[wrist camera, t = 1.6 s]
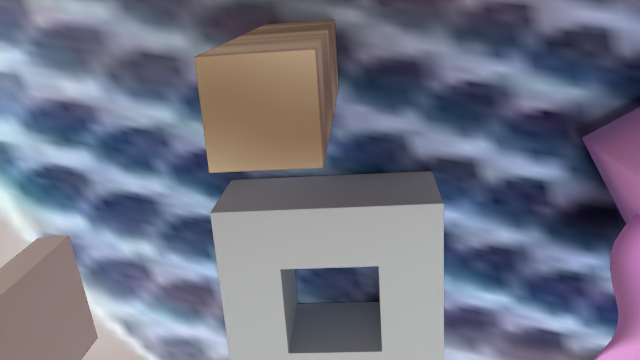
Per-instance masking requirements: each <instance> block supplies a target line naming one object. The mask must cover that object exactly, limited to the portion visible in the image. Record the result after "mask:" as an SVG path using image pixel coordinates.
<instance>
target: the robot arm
mask: <svg viewBox="0 0 640 360" xmlns="http://www.w3.org/2000/svg"><path fill="white" fill-rule="evenodd" d="M97 338H98V337H97V333H96V330H95V326H94V323H93V319H92V316H91V312H90V309H89V305H88V302H87V298H86V295H85V291H84V287H83V284H82V280H81V277H80V273H79V270H78V266H77V263H76V259H75V256H74V252H73V249H72V245H71V242H70V238H69V236H58V237H46V238H37V239H36V240H35V241H34V242H32V243H31V244H30V245H29V246H27V247H26V248H25V249H24V250H23V251H21V252H20V253H19V254H18V255H16V256H15V257H14V258H13V259H11V260H10V261H9V262H8V263H6V264H5V265H4V266H3V267H2V268H0V360H82V358H83V357H84V355H85V354H86V353H87V352H88V350H89V349H90V347H91V346H92V345H93V343H94V342H95V341H96V339H97Z"/></svg>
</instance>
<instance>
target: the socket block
mask: <svg viewBox="0 0 640 360" xmlns="http://www.w3.org/2000/svg"><path fill="white" fill-rule="evenodd" d="M210 215H211V222H212V230H213V237H214V245H215V252H216V260H217V267H218V275H219V282H220V290H221V297H222V304H223V312H224V319H225V327H226V334H227V342H228V349H229V357H230V360H444V203H443V201H442V198H441V195H440V193H439V190H438V188H437V185H436V182H435V180H434V177H433V174H432V172H431V171H421V172H399V173H376V174H354V175H331V176H309V177H286V178H264V179H241V180H231V182H230V183H229V185H228V186H227V188H226V189H225V191H224V192H223V194H222V196H221V197H220V199H219V200H218V202H217V203H216V205H215V206H214V208H213V209H212V211H211V213H210ZM371 266H378V286H379V302H344V303H307V304H298V298H297V287H296V276H295V269H308V268H340V267H371Z"/></svg>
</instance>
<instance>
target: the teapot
mask: <svg viewBox="0 0 640 360" xmlns="http://www.w3.org/2000/svg"><path fill="white" fill-rule="evenodd" d="M582 140H583V142H584V144H585V145H586V147H587V149H588V151H589V153H590V155H591V157H592V159H593V161H594V163H595V165H596V167H597V169H598V171H599V173H600V175H601V177H602V179H603V181H604V182H605V184H606V186H607V188H608V190H609V192H610V194H611V196H612V198H613V200H614V202H615V204H616V206H617V208H618V210H619V212H620V214H621V216H622V218H623V220H624V222H625V224H626V225H625V226H624V228H623V229H622V231H621V232H620V234H619V235H618V237H617V238H616V240H615V242H614V245H613V248H612V251H611V257H610V272H611V278H612V284H613V288H614V293H615V297H616V302H617V306H618V316H619V318H618V324H617V330H616V332H615V334H614V336H613V338H612V340H611V341H610V342H609V343H608V345H607V346H606V347H605V348H604V349H603V350H602V351H601V352H600V353H599V354H598V355H597V356H596V357H595V358H594V359H593V360H640V107H638V108H636V109H634V110H632V111H630V112H629V113H627V114H625V115H623V116H621V117H619V118H617V119H615V120H614V121H612V122H610V123H608V124H606V125H604V126H602V127H601V128H599V129H597V130H595V131H593V132H591V133H589V134H588V135H586V136H584V137H582Z"/></svg>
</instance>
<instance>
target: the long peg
mask: <svg viewBox="0 0 640 360" xmlns="http://www.w3.org/2000/svg"><path fill="white" fill-rule="evenodd" d="M194 59H195V67H196V75H197V82H198V90H199V98H200V105H201V113H202V121H203V128H204V136H205V143H206V151H207V159H208V166H209V173H217V172H239V171H261V170H282V169H304V168H323V166H324V161H325V156H326V151H327V146H328V141H329V136H330V131H331V126H332V121H333V115H334V110H335V105H336V100H337V95H338V90H339V84H338V66H337V49H336V32H335V20H323V21H308V22H293V23H277V24H266V25H264V26H261V27H259V28H257V29H255V30H253V31H250V32H248V33H246V34H244V35H242V36H239V37H237V38H235V39H233V40H231V41H228V42H226V43H224V44H222V45H220V46H218V47H215V48H213V49H211V50H209V51H207V52H204V53H202V54H200V55H198V56H196V57H194Z"/></svg>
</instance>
